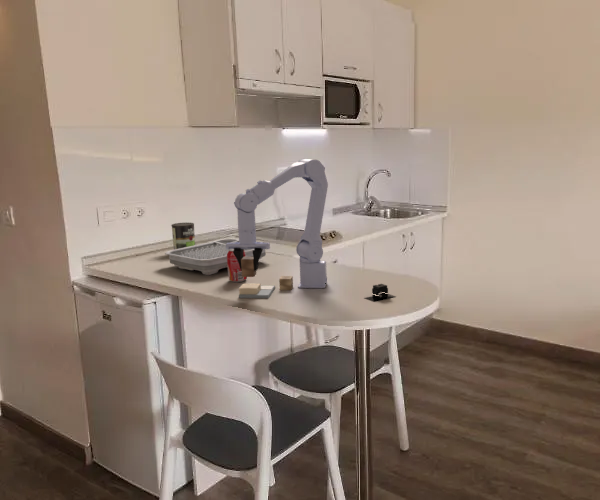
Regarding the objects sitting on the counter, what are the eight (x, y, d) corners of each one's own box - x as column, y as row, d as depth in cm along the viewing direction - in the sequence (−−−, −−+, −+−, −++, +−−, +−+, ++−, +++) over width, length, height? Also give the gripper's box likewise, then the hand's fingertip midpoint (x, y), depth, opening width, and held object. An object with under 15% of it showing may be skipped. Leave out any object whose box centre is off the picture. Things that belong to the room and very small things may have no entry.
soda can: (238, 277, 205) (236, 246, 202) (251, 279, 200) (249, 248, 198) (224, 281, 200) (222, 249, 197) (237, 284, 195) (235, 251, 193)
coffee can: (200, 252, 253) (198, 223, 250) (183, 256, 245) (181, 226, 242) (186, 250, 259) (183, 221, 256) (169, 254, 251) (166, 224, 248)
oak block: (293, 287, 189) (292, 276, 188) (291, 290, 185) (290, 279, 184) (281, 287, 190) (281, 276, 189) (279, 290, 186) (279, 278, 185)
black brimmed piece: (388, 293, 179) (388, 280, 178) (402, 298, 173) (402, 285, 172) (358, 299, 173) (358, 286, 172) (372, 305, 167) (372, 291, 166)
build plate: (275, 288, 188) (274, 279, 187) (268, 298, 176) (268, 289, 176) (247, 288, 189) (246, 279, 189) (238, 297, 178) (238, 289, 177)
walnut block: (256, 273, 181) (255, 256, 180) (253, 276, 177) (252, 259, 176) (244, 273, 182) (243, 256, 181) (241, 276, 178) (240, 259, 177)
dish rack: (160, 268, 224) (158, 250, 223) (229, 253, 250) (228, 236, 248) (205, 280, 203) (203, 259, 201) (276, 262, 228) (275, 244, 227)
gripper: (222, 232, 174) (224, 272, 177) (266, 231, 172) (268, 273, 175) (228, 228, 181) (230, 267, 183) (270, 228, 179) (272, 267, 181)
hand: (249, 270), depth 179 cm, fingers closed on walnut block, 4 cm apart
